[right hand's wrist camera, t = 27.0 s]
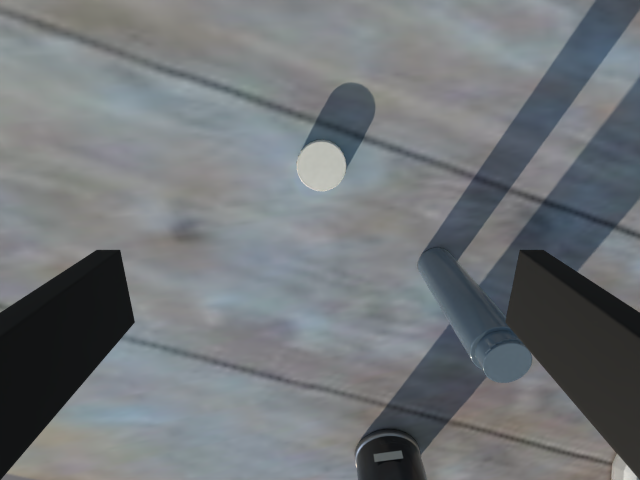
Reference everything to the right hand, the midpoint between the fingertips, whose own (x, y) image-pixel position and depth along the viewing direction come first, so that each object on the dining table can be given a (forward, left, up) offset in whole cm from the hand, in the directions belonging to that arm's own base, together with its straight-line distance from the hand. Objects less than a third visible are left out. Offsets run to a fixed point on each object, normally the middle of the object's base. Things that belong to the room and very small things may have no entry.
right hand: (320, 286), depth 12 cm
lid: (0, 0, -27) cm, 27 cm away
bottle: (+14, +12, -29) cm, 34 cm away
